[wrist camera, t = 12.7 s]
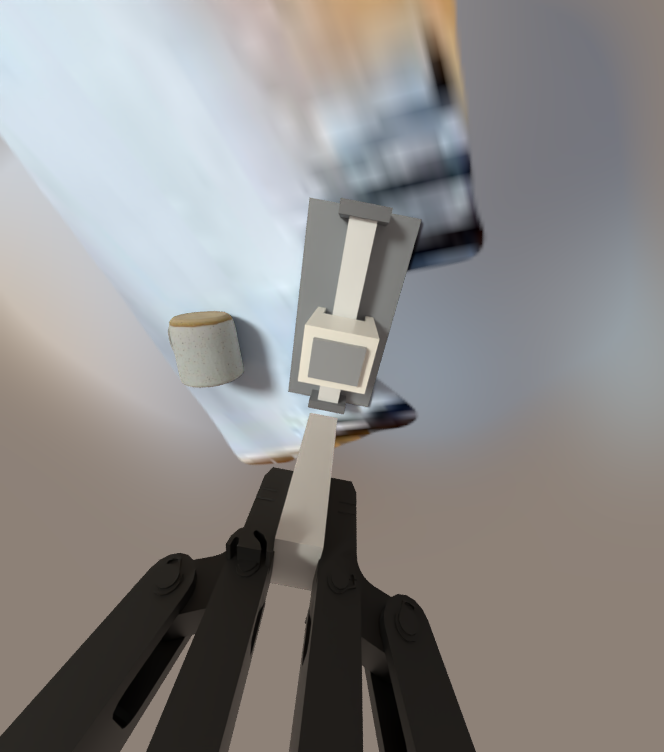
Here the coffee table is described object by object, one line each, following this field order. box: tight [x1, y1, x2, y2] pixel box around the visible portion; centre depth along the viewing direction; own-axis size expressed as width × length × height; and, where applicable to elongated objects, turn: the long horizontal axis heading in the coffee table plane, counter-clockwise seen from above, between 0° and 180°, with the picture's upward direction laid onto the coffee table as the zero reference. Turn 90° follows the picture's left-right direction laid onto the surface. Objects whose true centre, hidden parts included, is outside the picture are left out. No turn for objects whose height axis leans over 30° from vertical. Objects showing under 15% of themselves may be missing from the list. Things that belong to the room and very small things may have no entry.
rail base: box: [288, 198, 422, 414], centre depth 30 cm, size 24×12×4 cm, turn 170°
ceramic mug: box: [168, 311, 244, 388], centre depth 31 cm, size 11×8×8 cm
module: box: [298, 307, 379, 394], centre depth 28 cm, size 6×7×10 cm
